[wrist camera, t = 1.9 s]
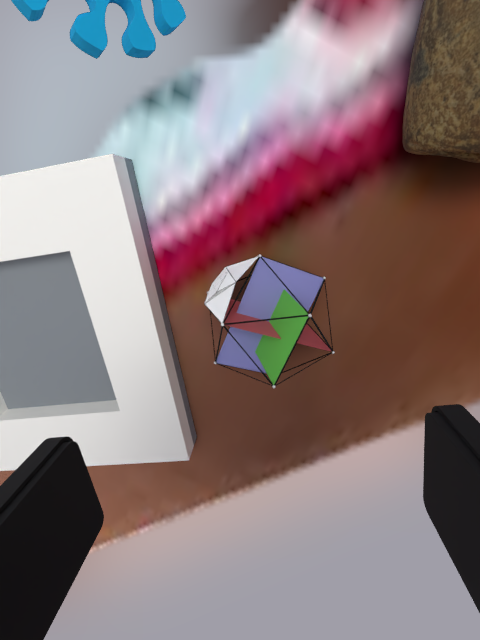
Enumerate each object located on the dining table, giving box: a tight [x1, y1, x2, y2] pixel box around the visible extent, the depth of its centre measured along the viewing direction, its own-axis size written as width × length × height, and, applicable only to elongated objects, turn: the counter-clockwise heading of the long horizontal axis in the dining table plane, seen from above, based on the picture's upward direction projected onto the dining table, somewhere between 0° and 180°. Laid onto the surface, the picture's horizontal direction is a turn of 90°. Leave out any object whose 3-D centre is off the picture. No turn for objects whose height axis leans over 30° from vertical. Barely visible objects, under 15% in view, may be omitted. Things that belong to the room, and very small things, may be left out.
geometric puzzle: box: [204, 254, 335, 388], centre depth 19 cm, size 7×7×8 cm
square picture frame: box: [0, 154, 197, 471], centre depth 23 cm, size 18×20×2 cm
